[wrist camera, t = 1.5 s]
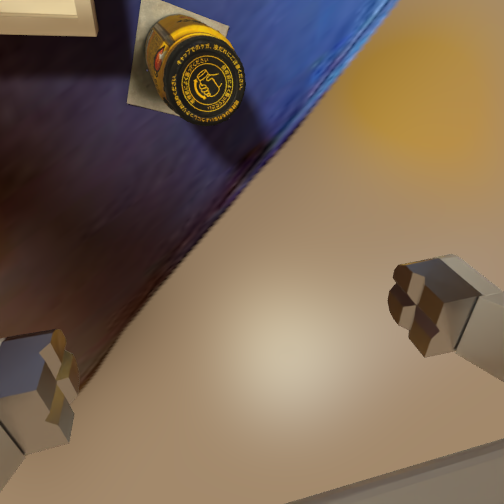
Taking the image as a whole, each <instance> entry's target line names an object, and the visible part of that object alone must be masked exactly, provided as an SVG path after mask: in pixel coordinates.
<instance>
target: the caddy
mask: <svg viewBox="0 0 504 504" xmlns="http://www.w3.org/2000/svg"><path fill="white" fill-rule="evenodd" d="M98 31H99V28H98V22H97V16H96V10H95V4H94V0H0V34H11V35H50V36H89V37H97V34H98Z"/></svg>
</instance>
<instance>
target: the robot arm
mask: <svg viewBox="0 0 504 504" xmlns="http://www.w3.org/2000/svg"><path fill="white" fill-rule="evenodd" d="M393 279H394V280H395V282H396V284H395V285H394V286H393V287H392V289H391V290H390V291H389V296H388V305H389V311H390V313H391V315H392V317H393V319H394V320H395V321H396V323H397V324H398V325H399V326H401V327H403V328H406V329H407V330H409V339H410V340H411V341H412V343H413V344H414V345H415V346H416V348H417V349H418V350H419V351H420V353H421V354H422V355H423V356H424V357H430V356H435V355H440V354H444V353H449V352H453V351H456V352H455V353H456V354H458V355H460V356H461V357H463V358H464V359H466V360H468V361H469V362H471V363H473V364H474V365H476V366H478V367H479V368H481V369H483V370H484V371H486V372H488V373H489V374H491V375H493V376H494V377H496V378H498V379H499V380H501V381H503V382H504V292H503V291H502V290H501V289H499V288H498V287H497V286H495V285H494V284H493V283H492V282H490V281H489V280H488V279H487V278H485V277H484V276H483V275H481V274H480V273H479V272H478V271H476V270H475V269H474V268H473V267H471V266H470V265H469V264H467V263H466V262H465V261H464V260H462V259H461V258H460V257H458V256H456V255H453V254H449V255H444V256H439V257H434V258H432V259H426V260H421V261H416V262H410V263H405V264H400V265H398V266H397V267H396V269H395V270H394V275H393ZM66 342H67V340H66V338H65V336H64V335H63V333H62V331H61V330H59V329H53V330H47V331H41V332H35V333H28V334H22V335H16V336H10V337H7V338H1V339H0V492H1V491H2V489H3V488H4V487H5V485H6V484H7V482H8V481H9V480H10V478H11V477H12V475H13V474H14V472H15V471H16V470H17V468H18V467H19V466H20V464H21V463H22V462H23V460H24V459H25V456H24V455H28V454H32V453H35V452H39V451H43V450H46V449H50V448H54V447H58V446H61V445H65V444H69V441H70V436H71V430H72V424H73V419H74V412H73V411H72V409H71V407H70V404H71V403H72V402H73V401H74V399H75V398H76V397H77V396H78V390H79V370H78V365H77V362H76V359H75V357H74V355H73V354H72V353H70V352H68V351H66V350H65V346H66ZM286 504H504V439H500V440H497V441H494V442H491V443H487V444H484V445H480V446H477V447H473V448H470V449H467V450H464V451H460V452H457V453H453V454H450V455H447V456H443V457H440V458H437V459H433V460H430V461H427V462H423V463H420V464H417V465H413V466H410V467H407V468H403V469H400V470H396V471H393V472H390V473H386V474H383V475H380V476H377V477H373V478H370V479H366V480H363V481H360V482H356V483H353V484H350V485H346V486H343V487H340V488H336V489H333V490H330V491H326V492H323V493H320V494H316V495H313V496H309V497H306V498H303V499H299V500H296V501H293V502H289V503H286Z"/></svg>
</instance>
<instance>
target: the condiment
mask: <svg viewBox="0 0 504 504" xmlns="http://www.w3.org/2000/svg"><path fill="white" fill-rule="evenodd" d="M228 28H229V26H226V25H224V24H221V23H219V22H216V21H213V20H211V19H208V18H206V17H203V16H200V15H198V14H195V13H193V12H190V11H187V10H185V9H182V8H179V7H177V6H174V5H172V4H169V3H166V2H164V1H161V0H141V6H140V13H139V20H138V27H137V34H136V42H135V49H134V56H133V64H132V70H131V77H130V84H129V92H128V99H127V103H128V104H132V105H137V106H141V107H145V108H149V109H153V110H157V111H161V112H165V113H169V114H174V115H177V116H180V117H181V118H183V119H185V120H186V121H187V122H191V123H193V124H197V125H201V126H211V125H216V124H218V123H221V122H224V121H226V120H228V119H229V117H230V116H231V115H233V113H234V112H235V111H236V110H237V109H238V108H239V106H240V104H241V101H242V98H243V95H244V91H245V86H246V82H245V73H244V68H243V65H242V63H241V61H240V58H239V57H238V56H237V54H236V52H235V51H234V48H233V47H232V45H231V43H230V42H229V41H228V40H227V39H226V35H227V31H228ZM146 69H147V70H148V72H146Z"/></svg>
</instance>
